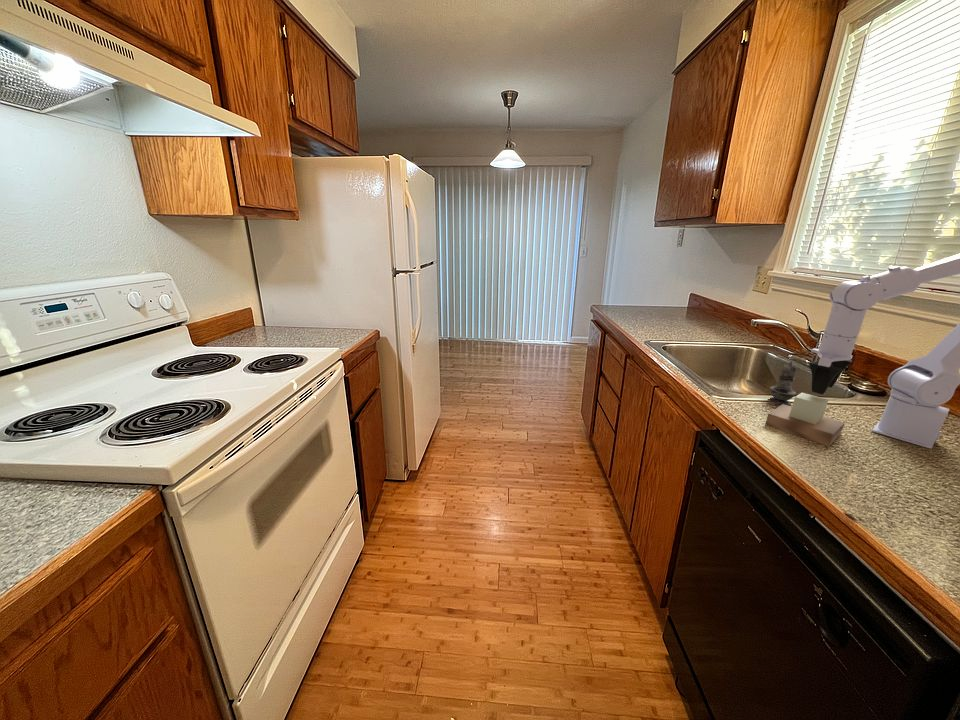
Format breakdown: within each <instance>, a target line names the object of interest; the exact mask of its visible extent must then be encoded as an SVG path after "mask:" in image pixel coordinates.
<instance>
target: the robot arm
mask: <svg viewBox="0 0 960 720" xmlns="http://www.w3.org/2000/svg"><path fill="white" fill-rule="evenodd" d="M956 275H960V253H957V254H954V255H952V256H948V257H946V258H942V259H940V260H937V261H934V262H930V263H928V264H925V265H922V266H920V267H915V268H912V267H908V266H899V265H893V266H891V267H888V270H887V271H884V272H881V273H877V274H874V275H864V276H861V278H860V279H859V280H858V281H855V280H847V281H843V282H840V283H839V284H838V285H837V286H835V288H834V289H833V291H830V292H829V300H830V302H831V304H832V306H831V309H830V312H829V316H828V319H827V323H826V325H825V327H824V328H825V329H824V331H823V335H822V338H821V341H820V344H819V347H818V348H815V347H814V348H811V351H810V352H811V353H814V354H816V355H817V356H818V357H819V360H818V361H814V360H811V361H810V362H809V365H808V366H809V369H810V371H811V392H812V393H816V394H820V395H824V394H825V393H826V392H827V391H828V388H833V387H834V386H835V384H836V382H837V381H838V379H839V377H840V376H841V375H842V373H843V372H844V371H845V369H846V368H848V366H849V365H851V364H852V363H853V360H852V357H853V356H852V353H853V351H854V348H855V345H856V342H857V339H858V337H859V333H860V331H861V327H862V325H863V322H864V319H865V316H866V314H867V311H868V310H870V308H873V307H874V306H875V305H876V304H877V303H878V302H881V301H884V300H888V299H892V298H895V297H899V296H902V295H906V294H909V293H914V292H915V291H916V290H918V289H919V287H920V285H921V284H924V283H928V282H929V283H930V282H932V281H938V280H940V279H944V278H949V277H952V276H953V277H954V276H956ZM887 385H888V386H889V387H890V388H891V390H890V391H889V393H890V396H889V398H888V401H887V403H886V405H885V408H884V410H883V413H882V414H881V417H880V421H878V422H877V423H876V425H875V426H874V427H873V428H872V430H871V431H872V432H873V433H877V434H880V435H882V436H887V437H889V438H893V439H897V440H899V441H900V440H901V441H903V442H907V443H910V444H913V445H916V446H919V447H923V448H927V449H933V447H934V444H935V442H936V440H937V441H938V440H939V438H940V437H941V435H942V432H940V431H941V428H942V427H943V424H944V423H945V420H946V418H947V416H948V413H949V411H950V408H949V407H944V406H942V405H943V404H945V403H948V402H949V400H951V399H952V397H953V396H954V394H955V392H956V389H957V388H958V386H960V322H959V323H958V324H957V325H956V326H955V327H954V328H952V330H951V331H949V333H948V334H947V335H946V336H945V337H944V338H943V339H941V341H940V342H938V344H936V345H935V347H934V348H932V349H931V350H930V351H929V352H928V353H927V354H926V355H924V356H921V357H917V358H913V359H910V360H909V361H908V362H907V363H905V364H904V365H903V366H901V367H898V368H896V369H894V370H893V371H891V373H889V375H888V377H887Z"/></svg>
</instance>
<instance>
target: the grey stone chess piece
mask: <svg viewBox="0 0 960 720" xmlns="http://www.w3.org/2000/svg"><path fill="white" fill-rule="evenodd" d="M796 371H797V366H795V365H794V362H793V361H790V362H789V363H787V364H784V365H783V367H782V370H781V373H780V374H779V375H778V377H779V379H778V381H777V383H776V385H772V386H769V389H770V391H769V392H770V395H771V396H772V397H769V398H770V399H768V398H767V401H768V402H769V403H771V404H775V405H778V406H781V405H782V404H784V405H788V406H791V407H792V403H791V402H790V400H792V399H793V398H795V395H796V394H797V392H796V391H795V390H794V389H793V388H792V387H793V386H792V385H793V382H794V381H795V380H796V378H795V374H796Z"/></svg>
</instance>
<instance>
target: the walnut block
mask: <svg viewBox="0 0 960 720" xmlns="http://www.w3.org/2000/svg"><path fill="white" fill-rule="evenodd" d="M791 408H792V405H791V406H788V405H784V404H782V405H778V407H776V408H775V409H773V410H772V411H770V412H769V413H768V414H767V417H766V421H765V424H764V425H766V426H768V427H771V428H774V429H777V430H780V431H783V432H786V433H788V434H791V435H794V436H797V437H800V438H803V439H805V440H809V441H812V442H815V443H818V444H821V445H824V446H827V447H830V446H831V445H832V444H833V443H834V442H835V441H836V439H838V438H839V436H840V435H841V434H842V432H843V429H844V426H845V422H844V421H840V420H838V419H834V418H830V417H827V416H825V415H823V417H822V420H820V421H819V422H818V423H817V424H816V425H815V424H812V423H809V422H806V421H803V420H799V419H796V418H793V417H790V416H789V415H790V412H791Z"/></svg>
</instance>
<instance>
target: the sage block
mask: <svg viewBox="0 0 960 720" xmlns="http://www.w3.org/2000/svg"><path fill="white" fill-rule="evenodd" d="M828 403H829V399H827V398H823V397H820V396H817V395H813V394H809V393H805V392H800V393H799V394H798V395H796V396H794V399H793V403H792V404H791V407H792V408H791V412H790V415H789V416H790V417H793V418H796V419H799V420H803V421H806V422H809V423H812V424H815V425H816V424H817V423H818V422H819V421H820V420H822V417H823V416H825V415H824V414H825V411H826V408H827V405H828Z"/></svg>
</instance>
